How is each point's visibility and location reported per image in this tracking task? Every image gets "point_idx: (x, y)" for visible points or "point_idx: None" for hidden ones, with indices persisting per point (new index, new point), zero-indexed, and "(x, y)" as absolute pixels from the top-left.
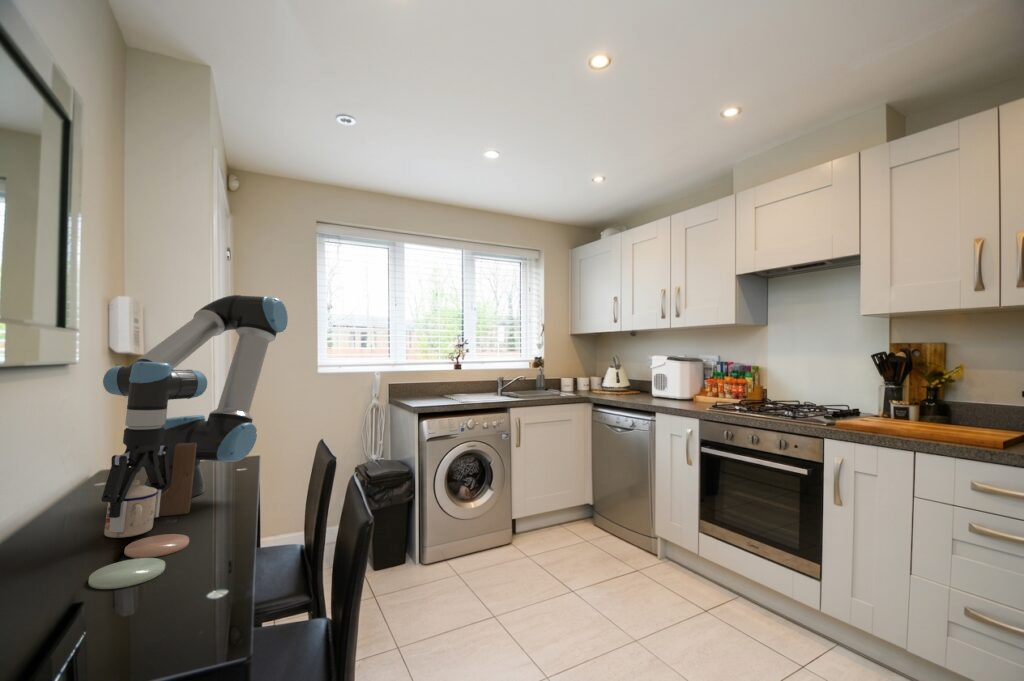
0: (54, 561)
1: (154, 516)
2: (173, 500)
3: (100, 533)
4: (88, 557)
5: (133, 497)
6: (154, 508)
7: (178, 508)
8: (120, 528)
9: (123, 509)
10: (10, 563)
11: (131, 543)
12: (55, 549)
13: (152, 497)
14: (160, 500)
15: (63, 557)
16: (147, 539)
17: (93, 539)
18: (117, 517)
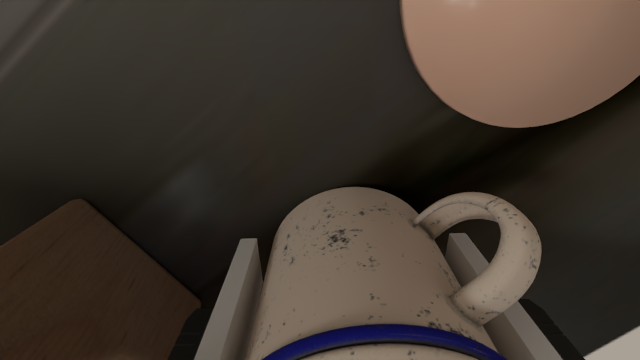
0: (630, 256)
1: (257, 248)
2: (86, 296)
3: None
4: (617, 188)
5: None
6: (304, 257)
7: (97, 245)
8: (474, 245)
9: (532, 324)
10: (616, 336)
11: (540, 120)
12: None
13: (364, 317)
14: (193, 312)
15: (597, 258)
16: (487, 88)
17: None
18: None
